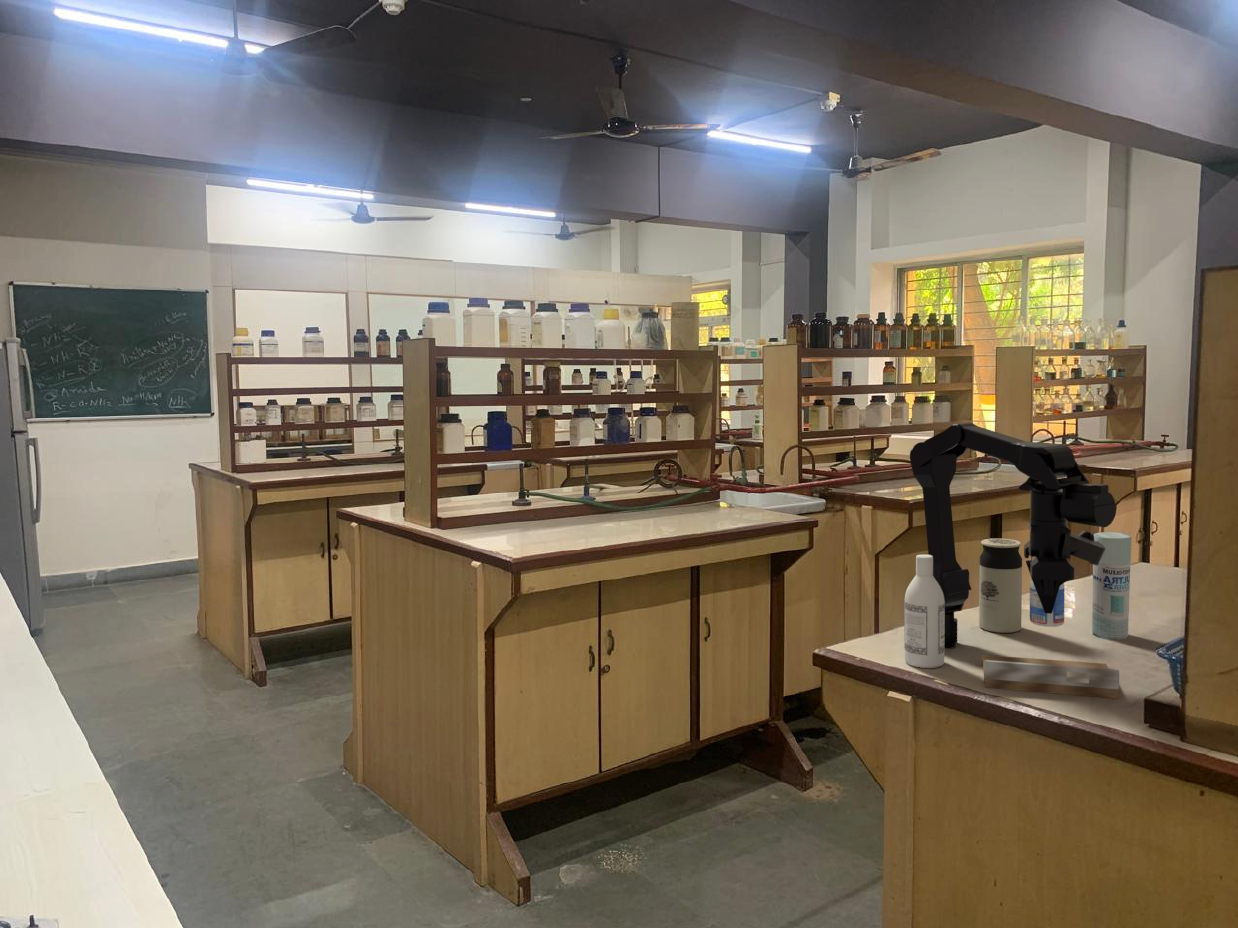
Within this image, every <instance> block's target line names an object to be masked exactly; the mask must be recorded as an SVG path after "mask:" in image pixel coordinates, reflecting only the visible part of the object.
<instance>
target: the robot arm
mask: <svg viewBox="0 0 1238 928" xmlns="http://www.w3.org/2000/svg"><path fill="white" fill-rule="evenodd" d="M968 449H970V450H972V451H975V452H978V453H981V454H983V455H987V456H989V457H993V458H995V459H998V460H1001V461H1004V462H1008V463H1009V464H1011V465H1012V466H1014V467H1015V468H1016V469H1017V470H1018V472H1020V473H1022V474H1024V475H1025V476H1027V477H1028V478H1027V479H1026V481H1025V482H1023V483H1022V484H1021V485H1019V487H1018V489H1019V490H1020V491H1024V492H1030V497H1029V498H1030V501H1029V507H1030V508H1029V521H1028V529H1029V540H1028V541H1027V542H1026V543H1025V544H1024V545H1023V555H1024V556H1023V557H1024V559H1029V558H1030V559H1031V560H1025V563H1026V566H1027V569H1028V571H1029V575H1030V578H1031V580H1032V581H1033V583H1034V586H1035V589H1036V591H1037V594H1038V596H1039V599H1040V602H1041V604H1042V607H1043V609H1044V612H1045V613H1050V614H1051V613H1052V611H1053V608H1054V604H1055V601H1056V597H1057V594H1058V591H1059V588H1060V586H1061V585H1062V584H1063V583H1064V584H1065V583H1066V582H1069V581H1074V580H1075V567H1074V565H1073V563H1072V562H1071V561H1069V560H1068V559H1071V556H1073V557H1076V558H1077V559H1081V560H1084V561H1086V562H1088V563H1090V564H1091V565H1093V564H1094V565H1098V564H1099V562H1100V560H1101V558H1102V555H1103V553H1104V551H1105V549H1106V548H1105V547H1104V546H1103V545H1102V544H1101V543H1099V542H1096V541H1094V533H1093V532H1091V531H1088V530H1085V529H1084V530H1082V531H1081V532H1079V533H1072V530H1071V528H1069V525H1068V522H1069V523H1073V524H1078V525H1079V524H1080V525H1086V526H1093V527H1097V528H1098V527H1099V528H1107V527H1109V526H1110V525H1111V524H1112V523H1113V522H1114V519H1116V518H1115V517H1116V514H1117V503H1116V500H1115V498H1114V496H1113V495H1112V493H1110V492H1109V485H1108V484H1104V483H1099V484H1094V483H1092V484H1091V483H1090V482H1089V480H1088V478H1087V477H1086V475H1085V474H1084V472H1083V471H1082V468H1081V467H1080V465H1079V464H1078V463H1077V461H1076V459H1075V456H1074V454H1073V450H1072V448H1071V447H1070V446H1068V445H1065V444H1062V443H1054V442H1053V443H1052V442H1040V441H1039V442H1038V441H1026V440H1022V439H1019V438H1017V437H1013V436H1009V435H1007V434H1004V433H1001V432H997V431H994V430H991V429H988V428H984V427H981V426H977V424H974V423H973V422H963V423H962V422H961V423H960V422H959V423H954V424H953V423H952V425H950V426H949V427H947V428H946V429H944V430H943V431H941V432H940V433H937V434H936V435H934V436H932V437H930V438H927V439H926V440H924V441H921V442H918V443H916V444H915V445H913V447H912V449H910V450H909V461H910V465H911V470H912V475H913V476H914V478H915V480H916V482H918V484H919V485H920V487H921V489H922V497H923V508H924V509H923V510H924V519H925V529H926V530H925V531H926V532H925V533H926V545H927V553H928V554H927V555H931V556H933V577H934V578H935V580H936V581H937V583H938V584H939V586H940V587H941V589H942V592H943V595H944V601H945V648H950V649H951V648H955V647H956V643H958V618H956V617H955V612H961V611H962V610H963V607H964V604H965V602H966V601H967V600H968V598H969V596H970V591H971V590H972V587H971V584H970V571H969V569H968V568H964V569H963V568H962V566H961V565H960V564H959V562H958V561H957V557H956V556H957V555H956V545H955V535H954V523H953V512H952V511H953V510H952V499H951V489H950V487H951V484H952V482H953V479H954V477H955V474H956V472H957V459H959V458H960V457H961V456H963V455H965V454H966V453H967V452H968Z"/></svg>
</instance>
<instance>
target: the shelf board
mask: <svg viewBox="0 0 1238 928" xmlns="http://www.w3.org/2000/svg"><path fill="white" fill-rule="evenodd" d="M982 669H983V670H982V671H983V672H982V673H983V681H984V687H985V688H988V689H990V688H991V689H1002V690H1012V691H1013V690H1014V691H1024V692H1025V691H1027V692H1038V693H1050V694H1062V695H1071V696H1072V695H1073V696H1074V695H1075V696H1087V697H1096V698H1111V699H1119V697H1120V670H1119V669H1114V668H1109V666H1108V665H1107V663H1102V662H1087V661H1073V660H1072V661H1070V660H1059V659H1058V660H1057V659H1044V658H1031V657H1018V656H1017V657H1016V656H1015V657H1014V656H1001V655H990V654H982Z"/></svg>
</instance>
